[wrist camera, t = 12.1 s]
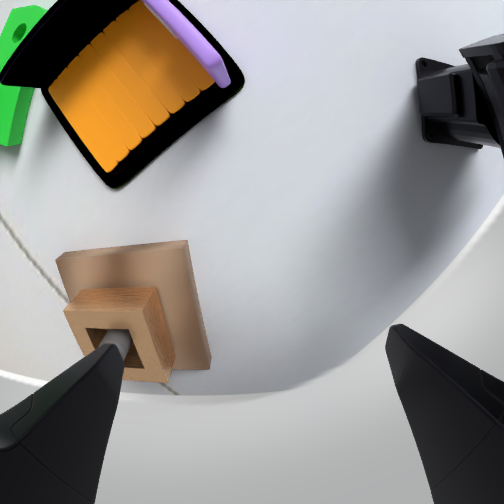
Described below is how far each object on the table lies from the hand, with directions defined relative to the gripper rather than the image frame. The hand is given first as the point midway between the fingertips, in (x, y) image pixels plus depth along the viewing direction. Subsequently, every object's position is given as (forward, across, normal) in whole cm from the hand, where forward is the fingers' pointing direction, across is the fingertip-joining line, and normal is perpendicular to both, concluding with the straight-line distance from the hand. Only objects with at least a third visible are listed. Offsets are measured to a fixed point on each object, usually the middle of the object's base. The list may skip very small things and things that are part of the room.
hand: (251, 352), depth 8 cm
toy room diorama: (+12, +7, -12) cm, 19 cm away
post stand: (+12, +10, +6) cm, 17 cm away
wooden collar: (+10, +10, +6) cm, 15 cm away
